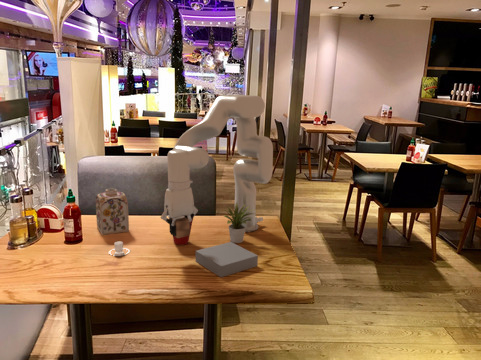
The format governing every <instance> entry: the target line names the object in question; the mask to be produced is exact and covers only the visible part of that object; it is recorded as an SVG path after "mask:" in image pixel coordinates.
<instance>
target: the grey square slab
mask: <svg viewBox="0 0 481 360" xmlns="http://www.w3.org/2000/svg"><path fill="white" fill-rule="evenodd" d="M194 260H195V262H196V263H198V264H199V265H201V266H203V267H204V268H205V269H207V270H208V271H210V272H212V273H213V274H215V275H216V276H218V277H219V278H224V277H226V276H230V275H234V274H237V273H240V272H242V271H247V270H249V269H253V268H255V267H258V263H259V261H258V260H259V255H257V254H256V253H254V252H252V251H250V250H248V249H246V248H245V247H244V248H243V247H242V246H240V245H238V244H237V243H233V242H231V241H229V242H225V243H221V244H217V245H213V246H209V247H205V248H202V249H198V250H195V259H194Z"/></svg>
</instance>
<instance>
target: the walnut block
mask: <svg viewBox="0 0 481 360" xmlns="http://www.w3.org/2000/svg"><path fill="white" fill-rule="evenodd" d="M175 226H176V236H175V237H176V238H181V237H185V236H189V235H191V232H190V220H189V219H187V218H185V217H183V216H181V217H176V220H175ZM189 237H190V236H189Z"/></svg>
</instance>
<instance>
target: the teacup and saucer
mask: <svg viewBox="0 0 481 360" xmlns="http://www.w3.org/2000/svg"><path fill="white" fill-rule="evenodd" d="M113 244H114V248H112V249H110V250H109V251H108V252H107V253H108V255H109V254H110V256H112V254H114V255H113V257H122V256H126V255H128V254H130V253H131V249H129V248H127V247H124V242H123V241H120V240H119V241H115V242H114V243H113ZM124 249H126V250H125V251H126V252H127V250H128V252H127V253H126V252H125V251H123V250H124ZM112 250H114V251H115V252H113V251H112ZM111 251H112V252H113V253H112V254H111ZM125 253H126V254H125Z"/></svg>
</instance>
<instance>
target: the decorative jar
mask: <svg viewBox="0 0 481 360" xmlns="http://www.w3.org/2000/svg"><path fill="white" fill-rule="evenodd" d="M95 212H96V214H95V215H96V216H95V217H96V227H97V229H98V231H99V233H100V235H102V236H104V235H110V234H111V235H112V234H119V233H124V232H125V233H127V232H129V231H130V224H129V223H130V221H129V220H130V219H129V201H128V199H127V195H126V193H124V192H122V191H118V189H116V188H106V189H105V191H104V192H100V193H98V194H96V197H95Z"/></svg>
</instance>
